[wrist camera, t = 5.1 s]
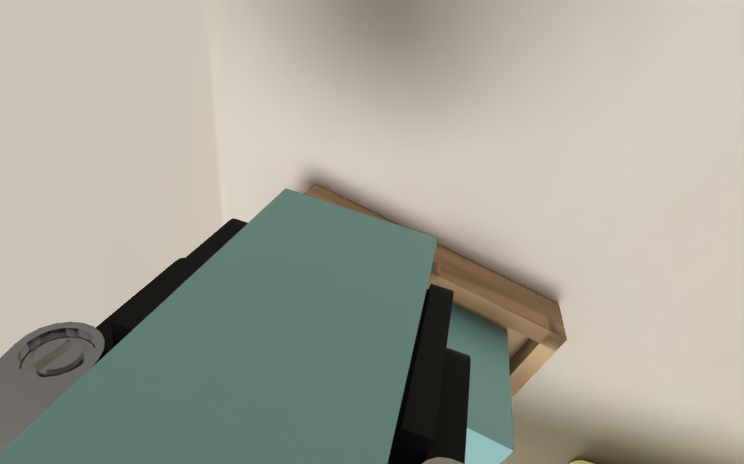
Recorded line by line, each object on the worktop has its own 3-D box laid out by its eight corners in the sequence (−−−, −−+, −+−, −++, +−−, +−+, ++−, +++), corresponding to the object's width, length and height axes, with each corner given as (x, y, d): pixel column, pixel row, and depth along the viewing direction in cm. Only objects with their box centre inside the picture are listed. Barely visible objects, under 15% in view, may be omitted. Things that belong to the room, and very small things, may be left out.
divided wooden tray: (315, 183, 26) (294, 205, 24) (558, 304, 26) (566, 339, 23) (280, 277, 30) (259, 305, 28) (490, 381, 30) (490, 419, 28)
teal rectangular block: (267, 325, 13) (30, 669, 7) (285, 188, 11) (-64, 510, 4) (390, 369, 13) (276, 784, 6) (438, 237, 10) (336, 685, 4)
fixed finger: (434, 293, 26) (413, 401, 19) (507, 329, 26) (513, 451, 19) (406, 337, 28) (378, 448, 21) (473, 370, 28) (468, 493, 21)
